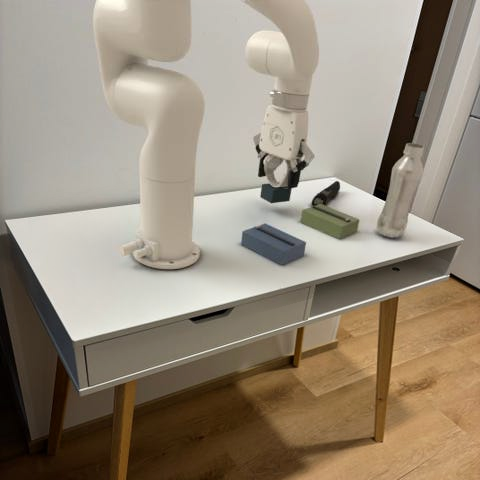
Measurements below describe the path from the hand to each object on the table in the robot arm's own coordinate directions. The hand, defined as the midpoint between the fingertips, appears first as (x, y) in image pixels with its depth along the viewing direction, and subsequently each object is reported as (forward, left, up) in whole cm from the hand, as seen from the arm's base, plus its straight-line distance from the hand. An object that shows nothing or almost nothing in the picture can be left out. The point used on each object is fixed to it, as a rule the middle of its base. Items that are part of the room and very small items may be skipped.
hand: (277, 181), depth 113 cm
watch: (0, 0, -4) cm, 4 cm away
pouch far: (+3, -14, -7) cm, 16 cm away
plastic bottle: (+12, -25, -7) cm, 28 cm away
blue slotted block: (-17, -14, -7) cm, 23 cm away
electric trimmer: (+18, -3, -7) cm, 19 cm away
